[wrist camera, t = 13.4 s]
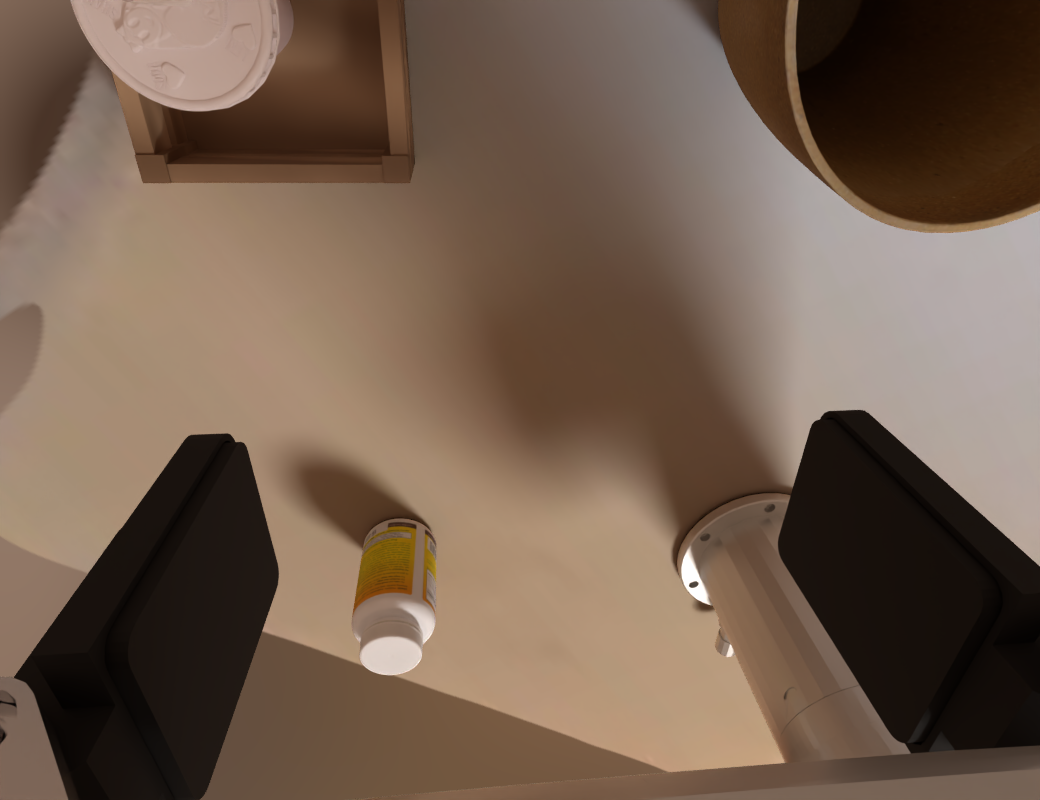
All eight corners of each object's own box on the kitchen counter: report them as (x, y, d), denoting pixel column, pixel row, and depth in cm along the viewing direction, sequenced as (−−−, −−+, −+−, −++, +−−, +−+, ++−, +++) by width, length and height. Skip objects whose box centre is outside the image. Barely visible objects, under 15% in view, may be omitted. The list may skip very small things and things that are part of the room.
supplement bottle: (349, 544, 47) (327, 661, 38) (396, 502, 45) (384, 615, 37) (405, 576, 49) (396, 693, 41) (451, 538, 48) (452, 651, 39)
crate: (414, 163, 33) (409, 183, 29) (183, 162, 32) (143, 183, 28) (391, -187, 26) (380, -229, 21) (90, -204, 24) (15, -253, 20)
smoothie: (351, 42, 29) (286, 54, 17) (247, 116, 30) (118, 174, 18) (257, -109, 26) (96, -223, 14) (144, -20, 27) (-92, -56, 15)
